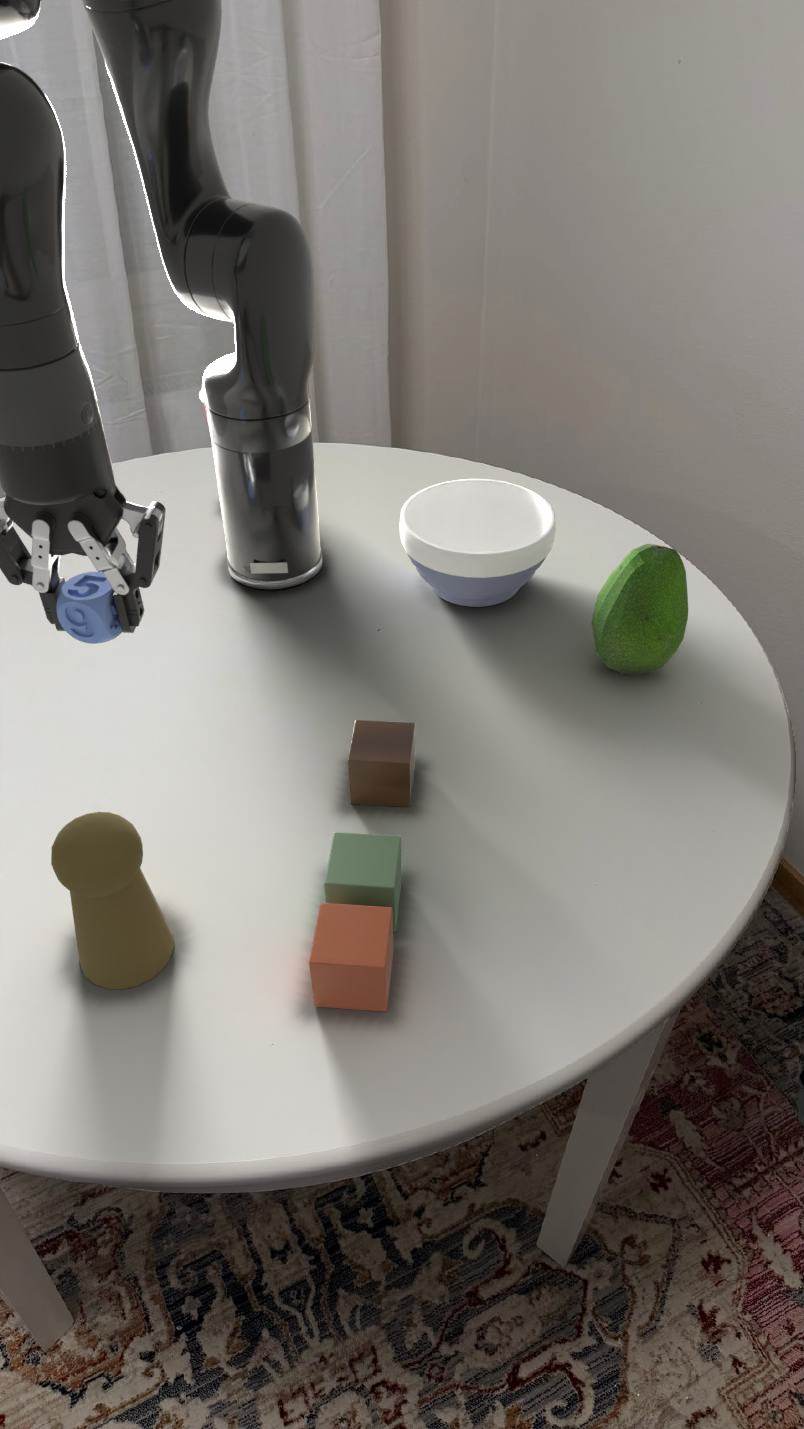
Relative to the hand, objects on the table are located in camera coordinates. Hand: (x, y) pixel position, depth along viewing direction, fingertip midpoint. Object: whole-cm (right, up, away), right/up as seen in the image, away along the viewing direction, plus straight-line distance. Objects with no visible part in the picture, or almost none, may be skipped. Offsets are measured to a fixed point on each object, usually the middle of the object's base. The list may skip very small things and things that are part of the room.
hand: (98, 625), depth 78 cm
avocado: (+43, -3, +10) cm, 45 cm away
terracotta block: (+20, -24, -14) cm, 34 cm away
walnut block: (+22, -12, -1) cm, 25 cm away
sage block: (+21, -20, -10) cm, 30 cm away
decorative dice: (0, 0, 0) cm, 1 cm away
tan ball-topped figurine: (+6, -22, -12) cm, 26 cm away
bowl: (+31, +6, +20) cm, 37 cm away
